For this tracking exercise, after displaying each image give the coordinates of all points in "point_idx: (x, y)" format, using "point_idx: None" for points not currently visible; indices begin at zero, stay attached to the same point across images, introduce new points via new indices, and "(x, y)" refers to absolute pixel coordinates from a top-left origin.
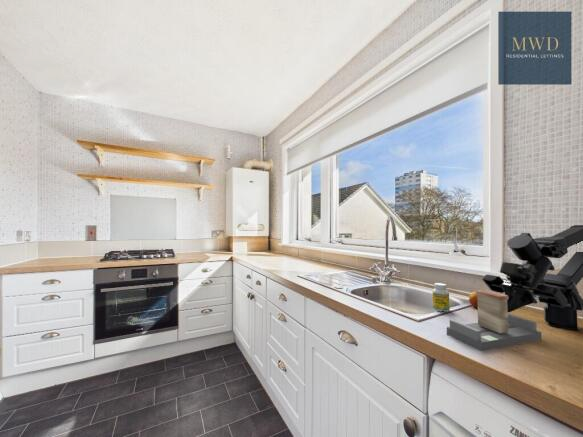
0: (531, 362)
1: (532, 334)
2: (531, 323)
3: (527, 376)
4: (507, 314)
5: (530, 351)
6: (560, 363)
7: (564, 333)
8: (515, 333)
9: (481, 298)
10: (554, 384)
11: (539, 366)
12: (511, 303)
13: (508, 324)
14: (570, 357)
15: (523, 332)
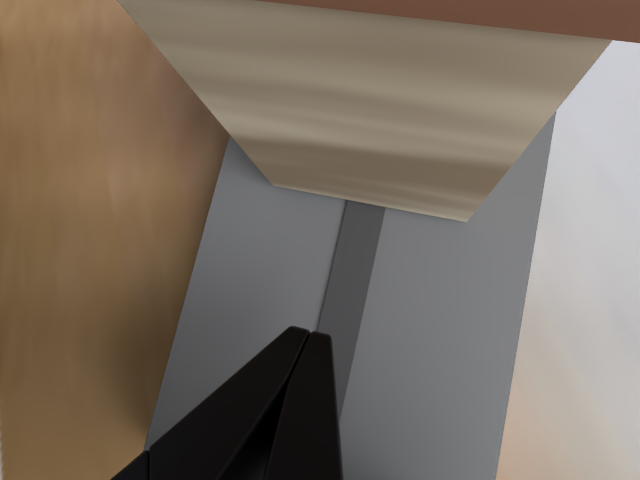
0: (121, 14)
1: (171, 359)
2: None
3: None
4: (217, 117)
5: (159, 153)
6: (36, 134)
7: None
8: (243, 237)
9: None
10: None
11: (89, 5)
12: (222, 408)
13: (362, 440)
14: (13, 271)
15: (216, 323)
